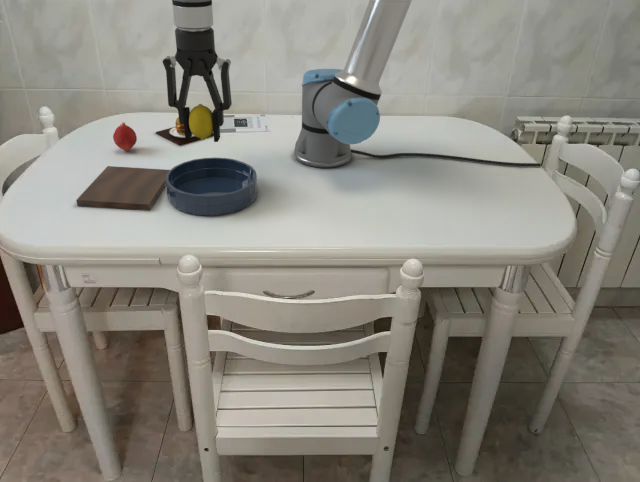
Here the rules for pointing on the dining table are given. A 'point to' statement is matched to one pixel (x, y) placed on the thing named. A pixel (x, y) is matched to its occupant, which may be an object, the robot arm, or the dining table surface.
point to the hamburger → (178, 134)
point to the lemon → (201, 121)
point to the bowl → (211, 186)
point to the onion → (124, 137)
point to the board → (125, 188)
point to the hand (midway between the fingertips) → (202, 138)
